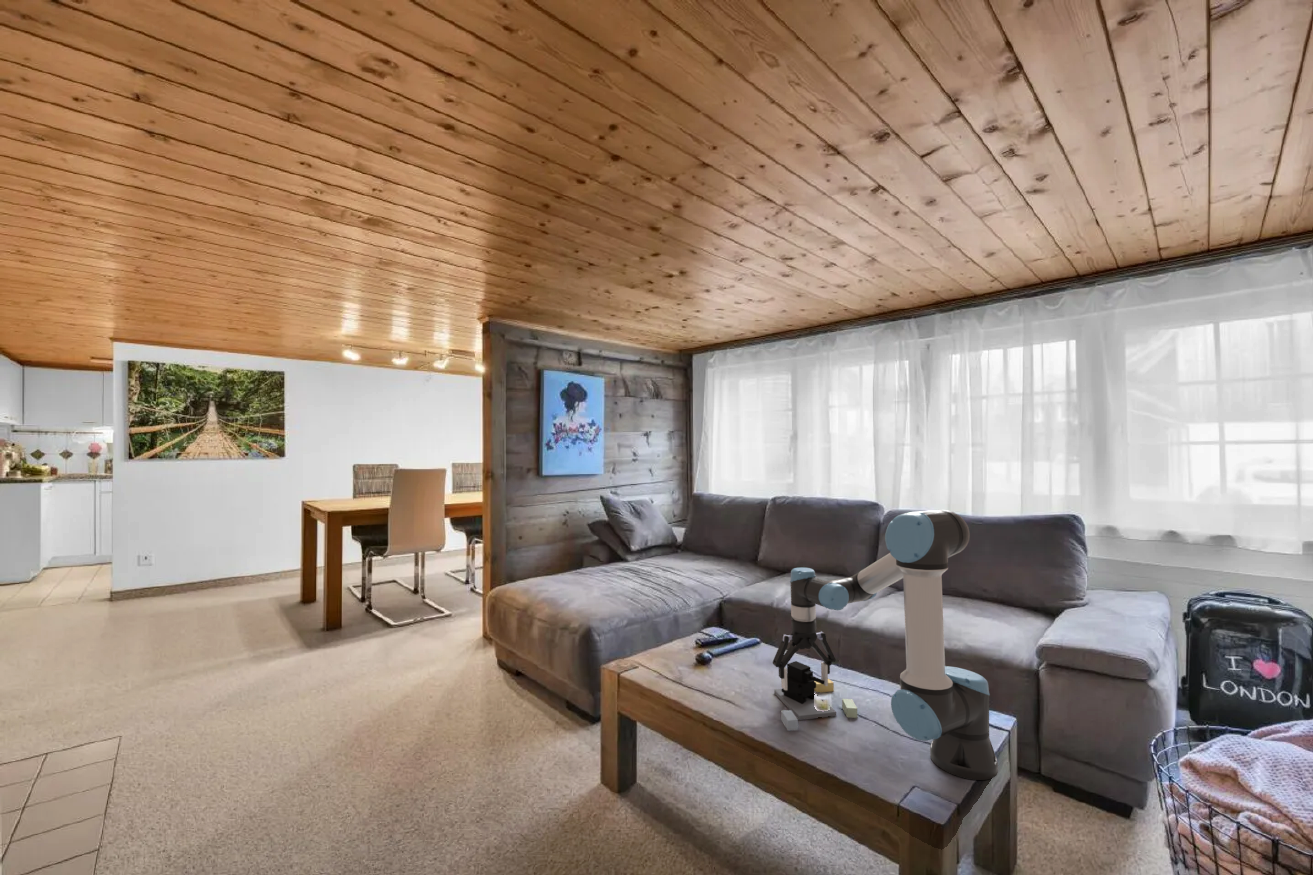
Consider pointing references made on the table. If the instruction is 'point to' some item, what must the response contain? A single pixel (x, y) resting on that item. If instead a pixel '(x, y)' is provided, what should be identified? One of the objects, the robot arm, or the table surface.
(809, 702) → the felt pad
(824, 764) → the table surface
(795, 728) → the dusty blue brick
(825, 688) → the mustard brick
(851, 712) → the sage brick
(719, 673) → the table surface
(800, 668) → the toy
